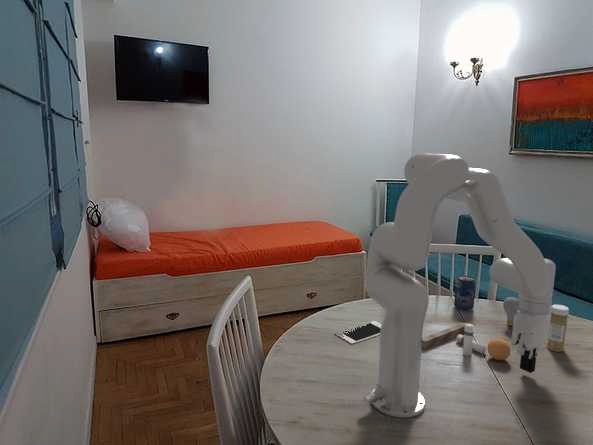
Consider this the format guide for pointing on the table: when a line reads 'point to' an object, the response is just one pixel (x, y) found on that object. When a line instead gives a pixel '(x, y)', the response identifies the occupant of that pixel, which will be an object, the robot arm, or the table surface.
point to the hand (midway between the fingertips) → (527, 369)
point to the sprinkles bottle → (557, 328)
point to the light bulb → (510, 309)
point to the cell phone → (363, 332)
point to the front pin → (473, 344)
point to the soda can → (464, 293)
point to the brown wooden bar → (443, 336)
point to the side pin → (468, 339)
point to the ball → (498, 349)
